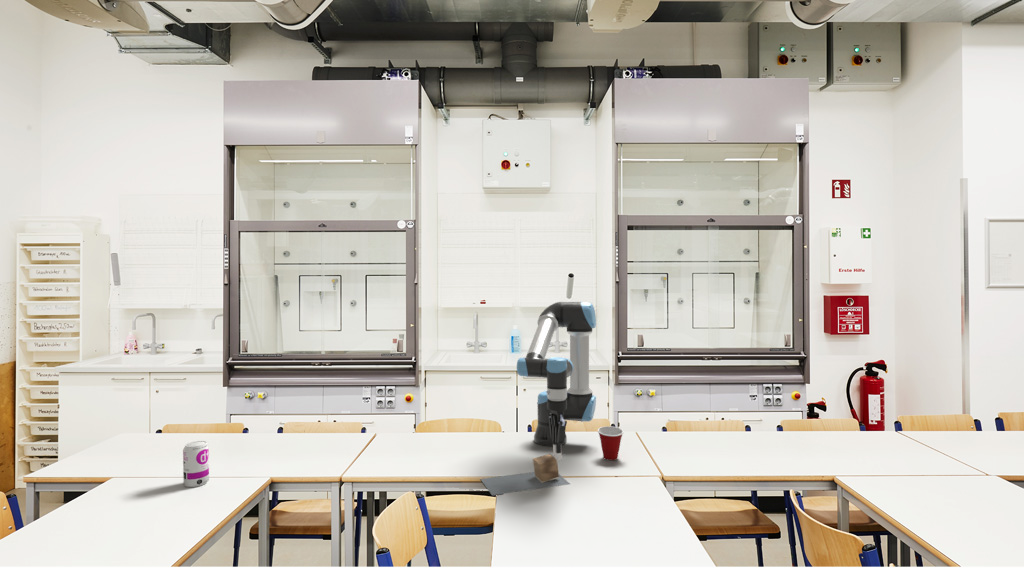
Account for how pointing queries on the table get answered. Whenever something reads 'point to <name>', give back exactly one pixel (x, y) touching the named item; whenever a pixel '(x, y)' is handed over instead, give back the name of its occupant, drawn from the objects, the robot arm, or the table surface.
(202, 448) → the supplement can
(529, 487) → the rubber mat
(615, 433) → the plastic cup
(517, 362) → the robot arm
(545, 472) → the light wooden block
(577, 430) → the table surface
